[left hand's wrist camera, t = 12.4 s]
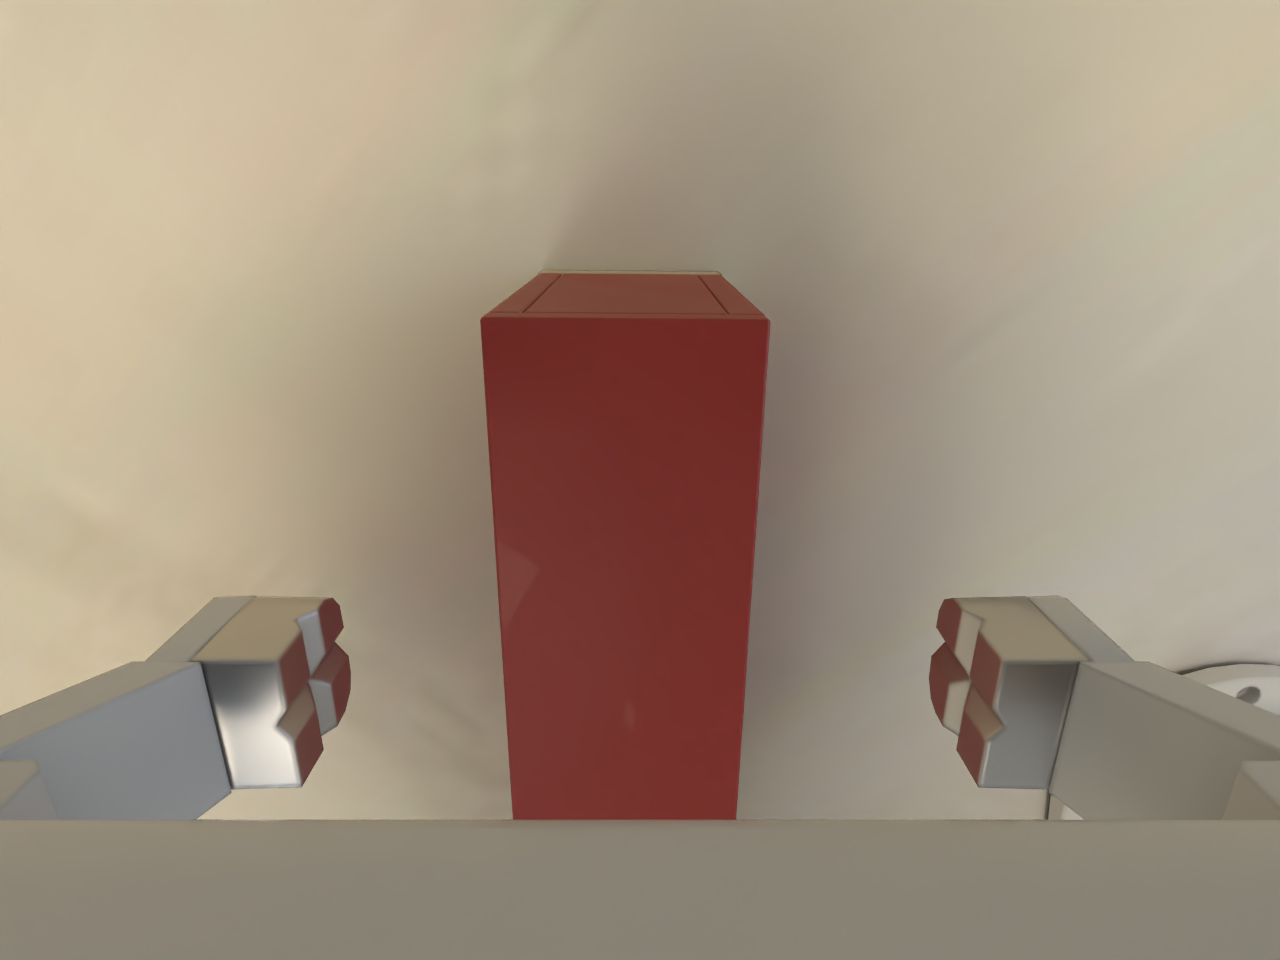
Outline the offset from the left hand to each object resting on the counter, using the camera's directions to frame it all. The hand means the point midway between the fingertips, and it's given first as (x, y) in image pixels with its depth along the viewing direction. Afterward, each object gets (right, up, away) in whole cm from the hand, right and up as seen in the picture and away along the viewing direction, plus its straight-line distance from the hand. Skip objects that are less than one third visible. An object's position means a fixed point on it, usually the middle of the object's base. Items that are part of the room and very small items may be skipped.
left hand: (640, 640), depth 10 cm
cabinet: (0, 0, +17) cm, 17 cm away
